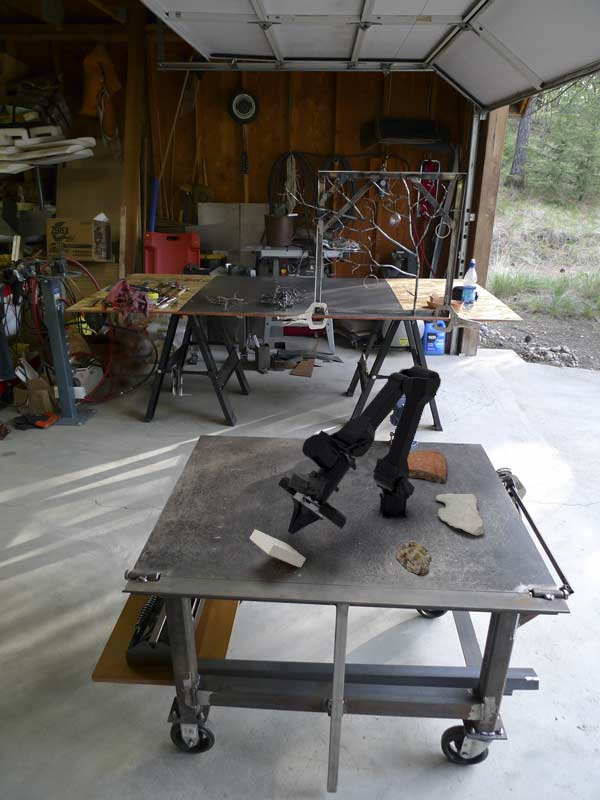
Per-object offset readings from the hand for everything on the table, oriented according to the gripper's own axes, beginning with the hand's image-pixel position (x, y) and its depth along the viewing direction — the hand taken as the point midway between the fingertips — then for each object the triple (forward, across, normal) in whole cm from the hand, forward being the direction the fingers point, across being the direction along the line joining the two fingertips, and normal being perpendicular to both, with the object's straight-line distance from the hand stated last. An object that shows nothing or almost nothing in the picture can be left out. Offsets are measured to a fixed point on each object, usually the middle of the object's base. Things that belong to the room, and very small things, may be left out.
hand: (289, 533), depth 135 cm
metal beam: (+10, -21, +2) cm, 24 cm away
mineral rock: (-11, +18, +22) cm, 30 cm away
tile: (+4, 0, +6) cm, 7 cm away
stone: (-28, +12, +39) cm, 49 cm away
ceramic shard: (-36, -11, +46) cm, 60 cm away
